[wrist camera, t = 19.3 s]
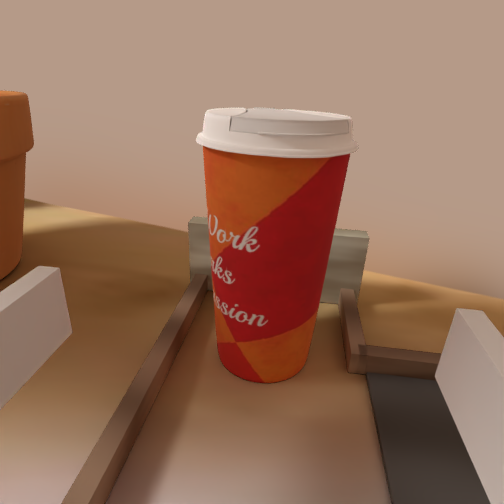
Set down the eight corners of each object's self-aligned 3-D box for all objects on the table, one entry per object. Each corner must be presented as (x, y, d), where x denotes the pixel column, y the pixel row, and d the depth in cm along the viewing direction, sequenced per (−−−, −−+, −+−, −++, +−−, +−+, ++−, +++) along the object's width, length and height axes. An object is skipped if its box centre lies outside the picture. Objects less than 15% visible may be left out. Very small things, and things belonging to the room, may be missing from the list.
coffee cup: (197, 319, 28) (191, 104, 21) (302, 311, 29) (325, 108, 23) (205, 408, 20) (201, 118, 14) (346, 391, 22) (398, 123, 15)
